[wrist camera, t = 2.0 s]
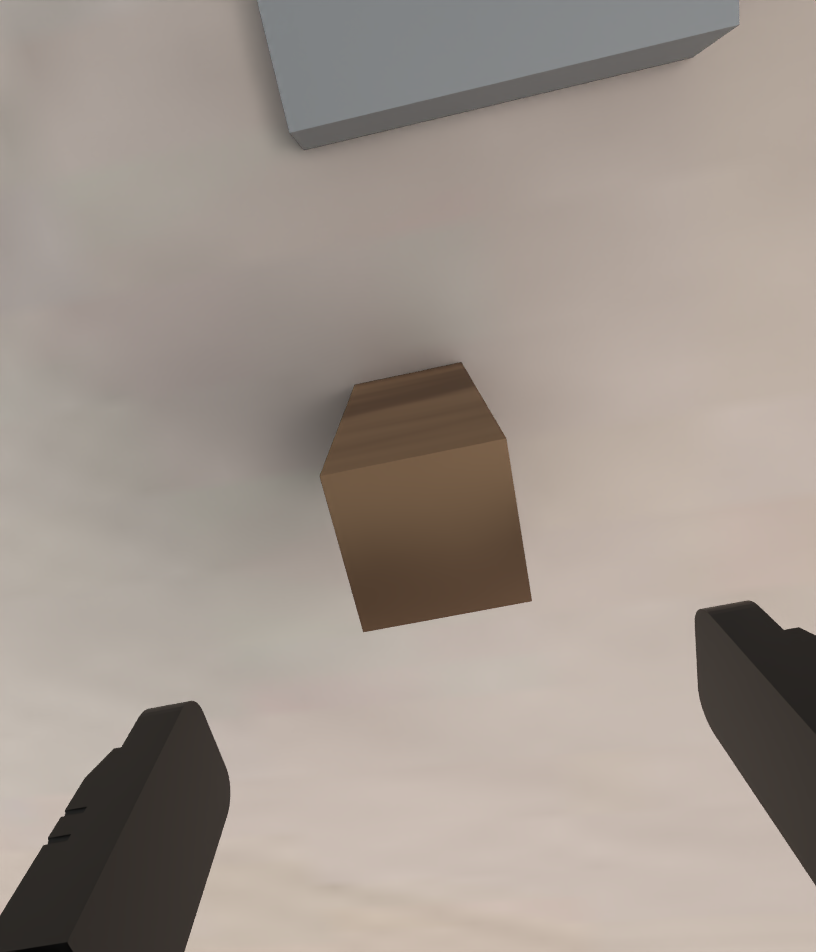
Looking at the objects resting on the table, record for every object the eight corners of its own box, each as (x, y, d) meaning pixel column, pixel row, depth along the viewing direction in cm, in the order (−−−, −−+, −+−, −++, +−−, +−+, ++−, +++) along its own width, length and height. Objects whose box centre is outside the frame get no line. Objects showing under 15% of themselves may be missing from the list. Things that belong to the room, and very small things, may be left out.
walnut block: (354, 384, 24) (319, 476, 14) (461, 362, 24) (506, 438, 14) (378, 483, 26) (363, 632, 15) (479, 463, 26) (531, 600, 15)
